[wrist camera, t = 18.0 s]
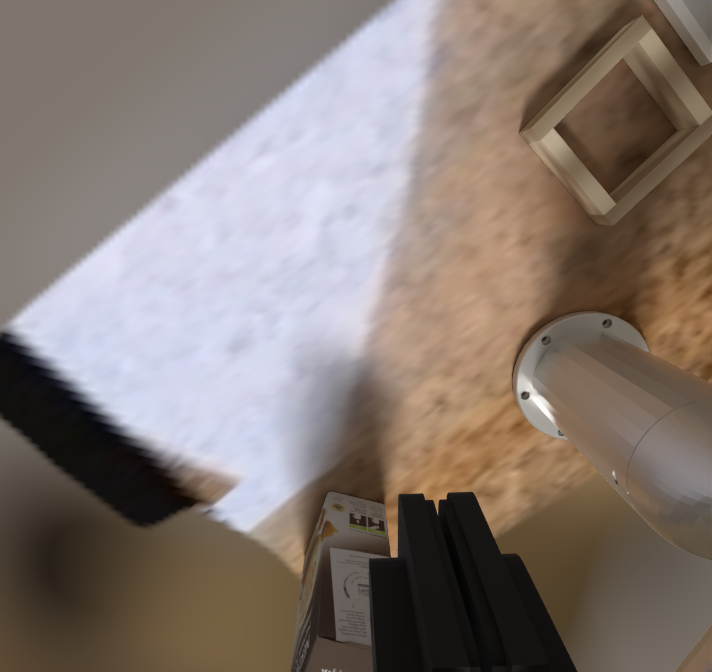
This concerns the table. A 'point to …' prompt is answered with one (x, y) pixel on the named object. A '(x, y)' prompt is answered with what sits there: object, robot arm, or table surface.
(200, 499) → the table surface
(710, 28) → the socket
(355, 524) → the coffee box
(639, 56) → the beige square frame
